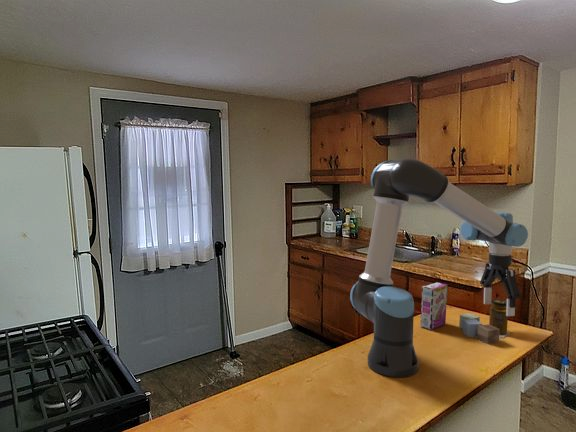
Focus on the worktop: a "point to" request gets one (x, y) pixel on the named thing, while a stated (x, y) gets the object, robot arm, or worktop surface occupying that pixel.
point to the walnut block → (488, 334)
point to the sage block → (467, 316)
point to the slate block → (470, 327)
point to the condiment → (499, 316)
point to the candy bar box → (433, 305)
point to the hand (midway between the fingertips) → (498, 309)
